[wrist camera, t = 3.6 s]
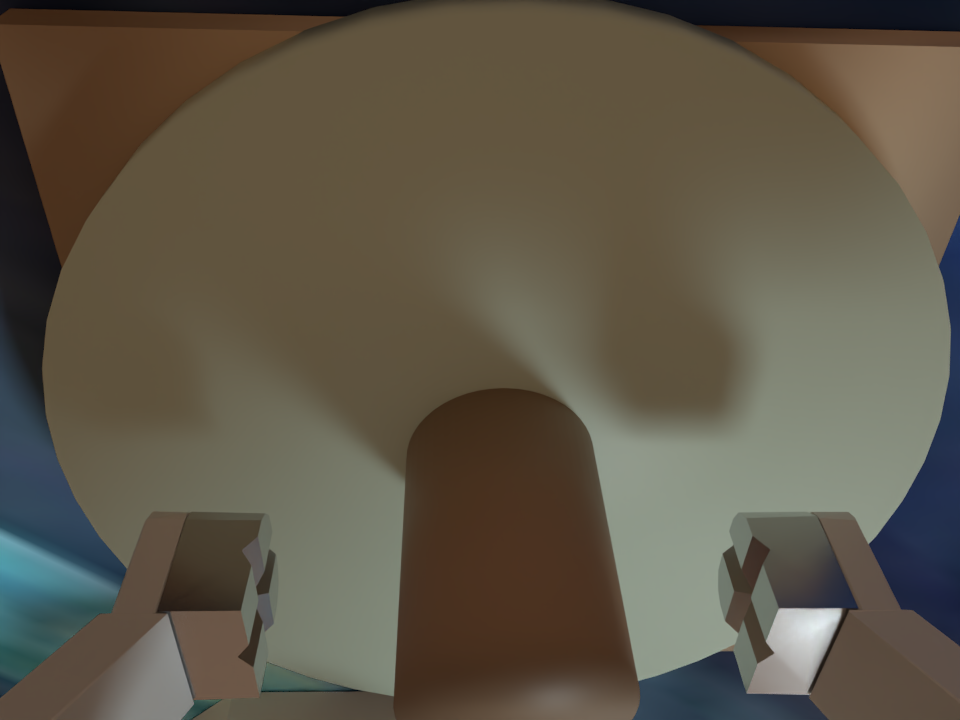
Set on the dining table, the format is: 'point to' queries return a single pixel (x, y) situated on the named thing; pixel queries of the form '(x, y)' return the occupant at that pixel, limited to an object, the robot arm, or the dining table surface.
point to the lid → (497, 341)
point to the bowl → (304, 707)
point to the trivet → (236, 37)
